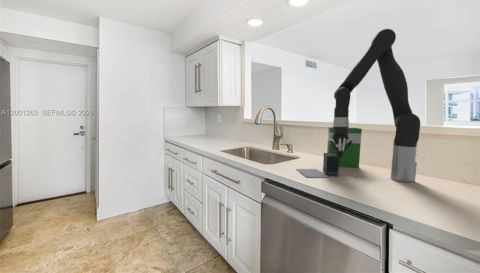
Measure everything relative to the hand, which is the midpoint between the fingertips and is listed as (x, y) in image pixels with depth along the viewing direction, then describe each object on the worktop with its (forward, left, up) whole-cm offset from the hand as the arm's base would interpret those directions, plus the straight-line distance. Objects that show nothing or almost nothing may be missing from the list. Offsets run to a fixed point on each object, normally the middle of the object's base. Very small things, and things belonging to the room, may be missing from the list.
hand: (339, 157), depth 121 cm
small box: (+5, 0, -9) cm, 10 cm away
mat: (+15, 0, -9) cm, 18 cm away
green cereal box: (-12, -19, -9) cm, 24 cm away
